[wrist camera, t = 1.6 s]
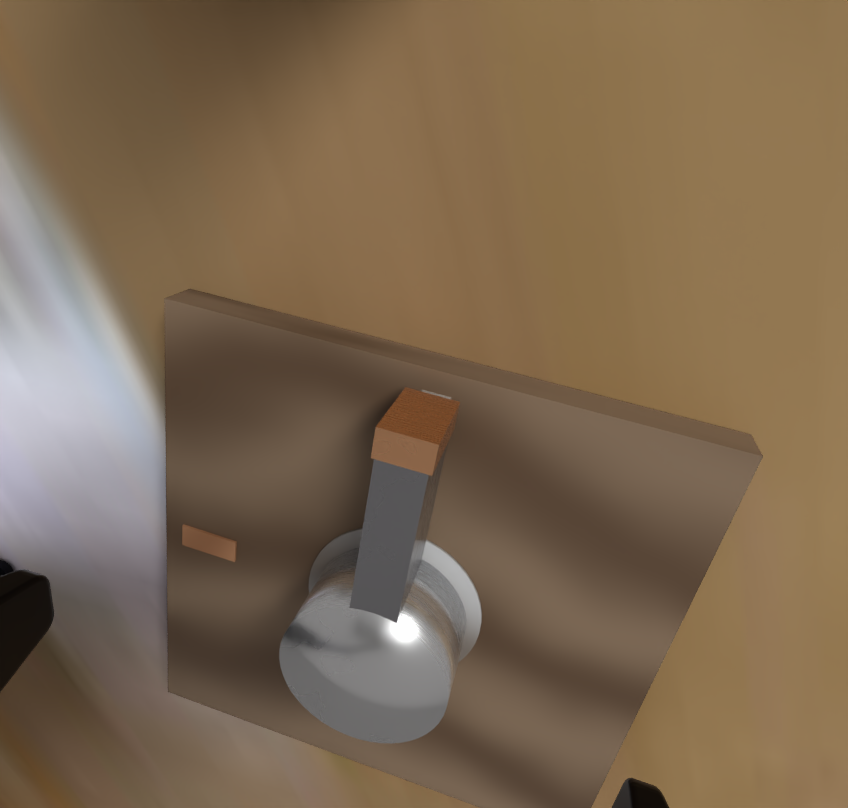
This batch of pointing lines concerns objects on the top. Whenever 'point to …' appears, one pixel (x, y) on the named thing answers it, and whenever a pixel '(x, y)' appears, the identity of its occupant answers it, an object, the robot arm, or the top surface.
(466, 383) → the lock board
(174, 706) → the top surface
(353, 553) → the lock knob
